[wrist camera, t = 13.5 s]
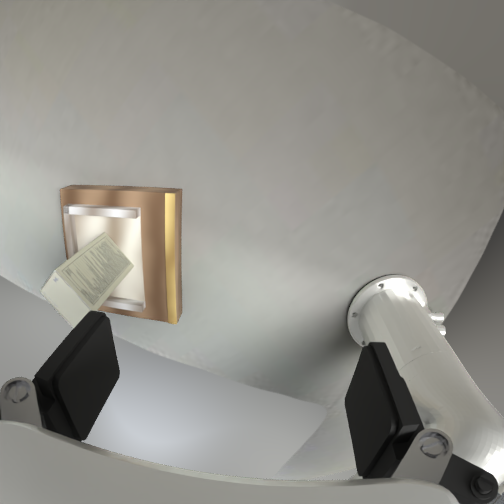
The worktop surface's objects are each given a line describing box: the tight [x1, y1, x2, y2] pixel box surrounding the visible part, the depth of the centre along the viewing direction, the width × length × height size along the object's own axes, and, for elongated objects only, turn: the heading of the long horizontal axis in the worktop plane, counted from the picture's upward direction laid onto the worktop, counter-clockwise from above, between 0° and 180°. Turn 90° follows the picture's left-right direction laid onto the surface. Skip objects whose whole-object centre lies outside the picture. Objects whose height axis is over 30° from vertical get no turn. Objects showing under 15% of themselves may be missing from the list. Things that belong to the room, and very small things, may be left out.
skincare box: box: [40, 232, 134, 329], centre depth 34 cm, size 6×4×12 cm
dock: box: [60, 185, 182, 324], centre depth 41 cm, size 17×18×4 cm
